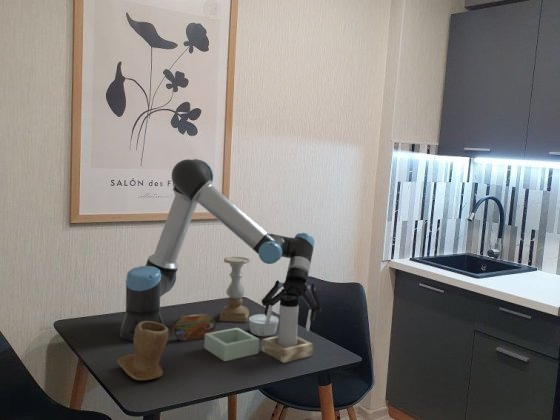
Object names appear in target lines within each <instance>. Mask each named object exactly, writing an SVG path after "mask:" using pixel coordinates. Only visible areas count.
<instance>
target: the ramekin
mask: <svg viewBox="0 0 560 420" xmlns="http://www.w3.org/2000/svg"><path fill="white" fill-rule="evenodd" d="M265 321H266V316H265V313H264V314H263V313H261V314H260V313H259V314H254V315H251V316H249V317H248V324H249V330H250V332H251V335H253V336H254V335H255V336H257V337H258V336H259V337H270V336H271V337H272V336H274V335H275V334H276V333H277V329H278V327H279V317H278V316H275V315H273V314H271V318H270V322H269V326H266V324H265Z"/></svg>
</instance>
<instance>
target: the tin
mask: <svg viewBox="0 0 560 420" xmlns="http://www.w3.org/2000/svg"><path fill="white" fill-rule="evenodd" d="M215 330H216V321H215V319H214V317H213V316H211V315H209V314H207V313H198V314H191V315H183V316H180V317H178V318H177V319H175V321H174V323H173V325H172V332H173V334H174V336H175V337H176V339H178V340H179V341H182V342H183V341H184V342H185V341H187V342H188V341H192V340H194V341H195V340H201V339H205V334H206V333H211V332H215Z"/></svg>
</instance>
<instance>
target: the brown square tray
mask: <svg viewBox="0 0 560 420" xmlns="http://www.w3.org/2000/svg"><path fill="white" fill-rule="evenodd" d="M261 340H262V342H261V344H262V345H261V347H262V348H261V352H262V351H263V352H264V353H265V354H267V355H269V356H271V357H272V358H274V359H276V360H278V361H280V362H282V363H288V362H293V361H297V360H300V359H304V358H308V357H313V350H314V343H312V342H310V341H308V340H306V339H304V338H302V337H300V336H298V335H297V346H292V347H288V348H284V347H282V346H280V345H278V335H276V336H271V337H270V336H269V337H266V338H262V339H261Z"/></svg>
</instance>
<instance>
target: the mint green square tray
mask: <svg viewBox="0 0 560 420" xmlns="http://www.w3.org/2000/svg"><path fill="white" fill-rule="evenodd" d="M203 346H204V349H205V350H206V351H208V352H210V353H211V354H213V355H214V356H215V357H217V358H219V359H220V360H222V361H223V362H226V361H232V360H235V359H236V360H237V359H239V358H244V357H248V356H253V355H258V354H259V350H260V349H259V348H260V347H259V346H260V338H258V336H257V337H256V335H255V336H254V334H252V333H248V332H247V331H245V330H244V329H242V328H239V327H234V328H228V329H222V330H217V331H214V332H211V333H206V334H205V338H204V345H203Z"/></svg>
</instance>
